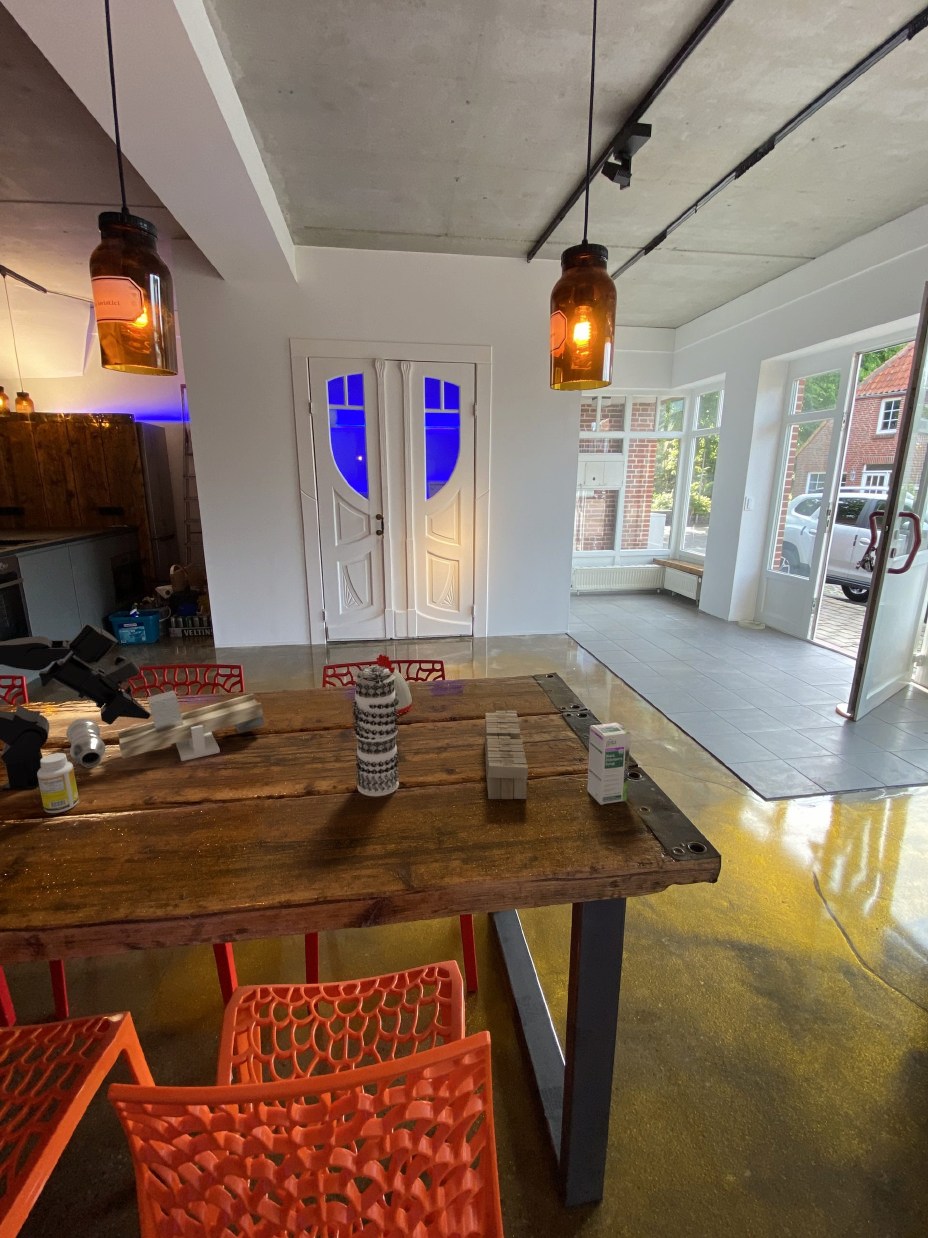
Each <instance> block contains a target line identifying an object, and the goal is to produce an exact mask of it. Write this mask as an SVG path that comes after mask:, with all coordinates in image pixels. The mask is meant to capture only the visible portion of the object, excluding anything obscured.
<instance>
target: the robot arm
mask: <svg viewBox="0 0 928 1238" xmlns="http://www.w3.org/2000/svg"><path fill="white" fill-rule="evenodd" d="M118 642H119V640H117V638H116V637H114V636H113V634H111V633H109V632H108V631H106V630H104V629H103V628H102V629H101V628H99V627H98V626H95V625H92V624H90V623H89V622H86V623H85V624H84V625H83V626H82V627H81V629H80V630H79V632H78V633H77V634H76V635H75V636H74V637H73V638H72V639H71V640H69V639H67V640H66V639H65V640H64V639H62V640H60V639H59V640H58V639H57V640H55V639H54V640H51V639H49V638H47V637H45V636H40V635H37V636H27V637H20V638H14V639H9V640H5V641H0V665H1V666H5V667H8V668H14V669H18V670H19V669H20V670H26V671H39V673H38V676H39V678H40V681H41V684H40V685H41V687H46V686H47V685H48V684H49V683H51V681H52V680H53V681H55V682H57V683H58V684H60V685H63V686H64V687H66V688H67V689H69V690H72V691H73V692H75V693H76V694H77V697H79V698H80V699H83V698H86V699H87V700H90V701H91V702H94V703H95V706H96V707H97V708H99V709H100V717H101V721H102V722H104V723H105V724H108V725H110V726H111V725H112V724H113V723H114V722H115V721H116V720H117V719H118V718H119V717H120V718H131V719H132V718H133V719H143V720H149V718H150V717H152V714H151V712H149V711H148V710H147V709H146V708H145V707H143V705H142V704H140V702H138V700H136V699H135V697H134V696H133V692H132V687H131V685H129V686H127V687H126V689H123V688H122V686H121V685H122V684H123V683H127V682H128V680H129V679H131V678H133V677H137V676H138V675H139V674H140V673H141V671H140V667H139V666H138V665H137V663H136V662H135V660H134V659H133V658H132V657H130V656H127V657H124V656H123V655H121V654H119V655H118V656H116V657H114V658H113V664H114V665H111V666H110V667H109V668H107V670H104V669H102V668H100V667H99V668H98V667H97V668H94V667H92V666H91V665H89V664H94V663H99V662H100V661H101V660H102V659H103V658H104V657H105V656H106V655H107V654H108V653H109V651H111V649H113V647H114V646H115V645H117V643H118ZM76 657H77V658H76ZM47 667H48V668H47ZM46 668H47V669H46ZM45 669H46V670H45ZM49 732H50V722H49V720H48V718H47V717H46V716H44V715H42V714H41V711H40V710H31V709H28V708H26V707H25V706H21V705H17V707H16V710H15V711H4V710H3V711H2V710H0V741H1V742H2V743H4V745H3V750H2V752H1V756H0V759H1V760H2V761H3V763H4V764H5V770H6V776H7V780H8V781H7V782H6V783H5V784H3V785H2V786H1V790H2V791H5V790H6V791H7V790H8V791H9V790H20V789H21V790H23V789H24V790H25V789H36V788H37V787H39V781H38V776H37V772H38V770H39V769H40V768H41V763H40V760H41V759H42V758H43V753H42V750H41V748H42V747H43V746H45V744H46V743H47V741H48V738H49Z"/></svg>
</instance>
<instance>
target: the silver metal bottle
mask: <svg viewBox="0 0 928 1238" xmlns="http://www.w3.org/2000/svg"><path fill="white" fill-rule="evenodd" d="M100 734H101V729H100V726H99V724H98V723H97V722H96V721H95V720H93V719H91V718H86V717H82V718H78V719H75V720H73V721H72V722H71V723H70V724H69V726H68V727H67V728H66V733H65V735H66V738H67V740H68V742H69V743H70V745H71V746H70V748H69V749H70V750H69V754H70V758H71V759H72V760H73V761H74V762H75V763H77V764H79V765H82V766H83V767H85V768H94V767H96V766H98V765H99V764H100V763H101V761H102V758H103V757H104V755H105V753H106V748H107V747H106V745H105V742H104V741H103V739H101V738H100Z"/></svg>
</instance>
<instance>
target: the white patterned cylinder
mask: <svg viewBox="0 0 928 1238" xmlns="http://www.w3.org/2000/svg"><path fill="white" fill-rule="evenodd" d="M395 677H396V676H395V675H394V674H393V673H391V672H390V671H389V669H387V668H385V667H381V666H378V665H372V666H370V665H369V666H365V667H363V668H362V669H360V671H359V672H358V673H357V674H355V676H353V680H354V681H355V691H354V699H355V700H353V701H352V705H351V707H352V709H353V710H352V715H353V719H354V721H353V725H354V728H353V730H354V735H355V737H356V739H357V747H356V749H357V750H356V752H357V754H356V756H355V759H356V763H355V765H356V772H355V774H356V782H357V783H356V784H357V790H358V792H359V793H361V794H362V795H364V796H368V797H382V796H387V795H390V794H392V793H394V792H395V791H396V790H398V788H399V786H400V783H399V777H400V775H398V774H399V771H400V769H399V768H398V764H399V762H400V761H399V759H398V758H399V753H398V749H397V743H396V735H397V734H398V733H399V732H398V729H399V727H398V725H396V723H397V722H398V721H399V716H396V715H397V714H398V709H396V708H395V707H394V706H396V705H398V703H399V701H398V700H397V699H396V698H397V697H396V696H398V694H397V693H395V690H394V678H395Z"/></svg>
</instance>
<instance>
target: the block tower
mask: <svg viewBox="0 0 928 1238" xmlns="http://www.w3.org/2000/svg"><path fill="white" fill-rule="evenodd" d="M484 715H485V719H484V720H485V721H484V723H485V724H484V725H485V726H484V729H485V730H484V747H485V749H484V751H485V752H484V754H486V755H485V770H486V772H485V773H486V786H487V795H488V796H487V797H488V799H489V800H513V799H515V800H516V799H517V800H526V799H527V779H528V775H529V766H528V764H527V757H526V752H525V750H524V745H523V743H524V741H523V739H521V728H520V723H519V719H518V711H517V710H495V712H485V714H484Z"/></svg>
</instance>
